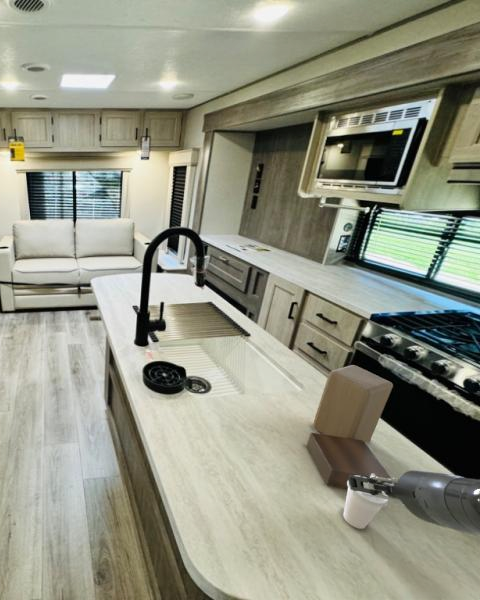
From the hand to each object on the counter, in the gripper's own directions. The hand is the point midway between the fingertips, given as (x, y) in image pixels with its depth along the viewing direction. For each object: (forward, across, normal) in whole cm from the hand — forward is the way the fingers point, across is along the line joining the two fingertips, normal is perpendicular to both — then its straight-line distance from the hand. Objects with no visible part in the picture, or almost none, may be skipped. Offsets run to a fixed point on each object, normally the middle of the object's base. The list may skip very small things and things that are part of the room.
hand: (376, 486), depth 62 cm
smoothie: (+10, 0, +8) cm, 13 cm away
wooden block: (+29, -9, -11) cm, 32 cm away
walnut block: (+20, -4, -2) cm, 20 cm away
